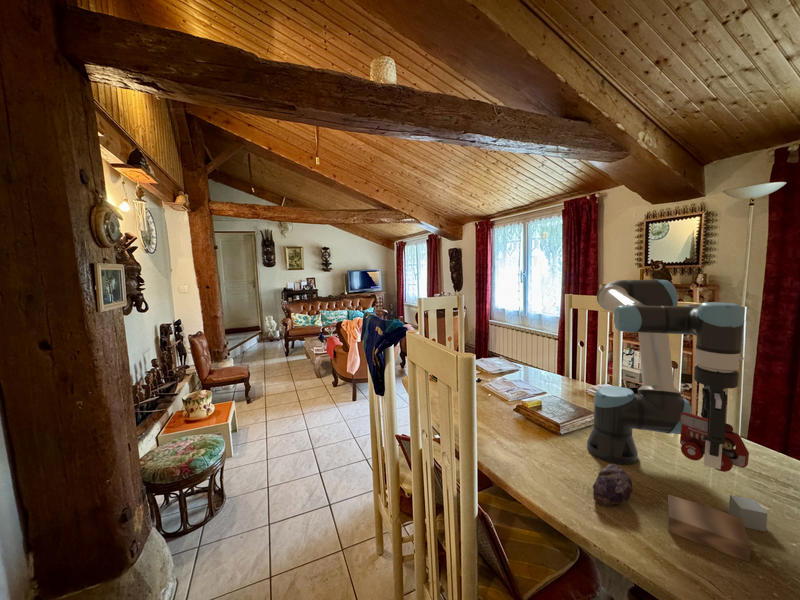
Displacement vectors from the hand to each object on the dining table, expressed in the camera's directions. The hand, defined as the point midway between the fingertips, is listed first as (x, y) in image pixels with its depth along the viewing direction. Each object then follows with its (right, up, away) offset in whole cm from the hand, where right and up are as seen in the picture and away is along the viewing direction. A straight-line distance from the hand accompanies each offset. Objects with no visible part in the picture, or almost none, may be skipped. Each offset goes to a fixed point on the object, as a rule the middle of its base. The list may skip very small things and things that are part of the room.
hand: (709, 457), depth 78 cm
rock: (-14, -19, +14) cm, 28 cm away
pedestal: (+1, -20, +2) cm, 20 cm away
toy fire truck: (0, -1, 0) cm, 1 cm away
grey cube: (+15, -19, +5) cm, 25 cm away
